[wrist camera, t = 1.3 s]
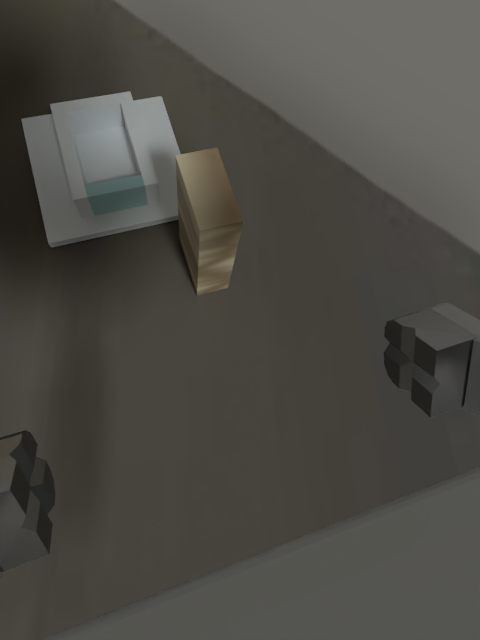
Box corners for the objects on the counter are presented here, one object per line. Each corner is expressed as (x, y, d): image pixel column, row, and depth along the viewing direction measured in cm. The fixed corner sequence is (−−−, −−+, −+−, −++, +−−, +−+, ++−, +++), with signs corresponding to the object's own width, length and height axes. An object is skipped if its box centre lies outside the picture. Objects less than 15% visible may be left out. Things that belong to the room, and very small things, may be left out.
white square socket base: (51, 247, 39) (36, 226, 35) (24, 124, 43) (8, 94, 39) (198, 215, 42) (199, 192, 38) (161, 102, 45) (159, 71, 42)
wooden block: (196, 295, 39) (199, 230, 28) (179, 238, 41) (175, 155, 29) (227, 287, 40) (243, 221, 29) (209, 231, 41) (217, 147, 30)
